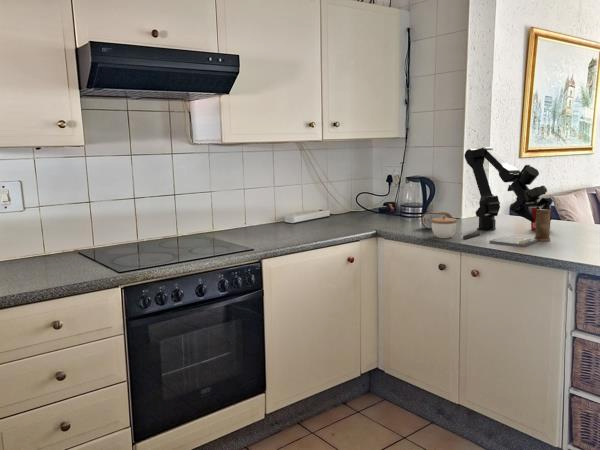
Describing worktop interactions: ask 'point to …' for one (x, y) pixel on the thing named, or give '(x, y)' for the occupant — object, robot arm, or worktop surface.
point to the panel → (511, 241)
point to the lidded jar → (443, 227)
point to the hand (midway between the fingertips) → (542, 220)
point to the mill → (542, 225)
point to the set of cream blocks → (524, 240)
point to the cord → (471, 235)
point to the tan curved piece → (431, 215)
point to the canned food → (533, 212)
